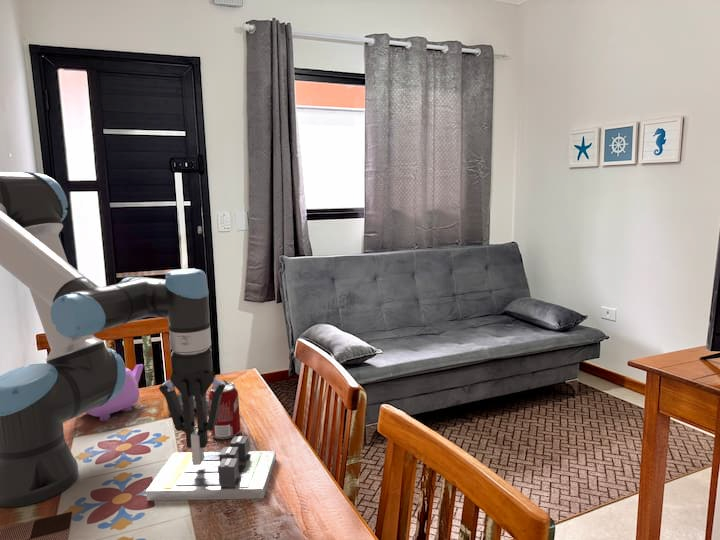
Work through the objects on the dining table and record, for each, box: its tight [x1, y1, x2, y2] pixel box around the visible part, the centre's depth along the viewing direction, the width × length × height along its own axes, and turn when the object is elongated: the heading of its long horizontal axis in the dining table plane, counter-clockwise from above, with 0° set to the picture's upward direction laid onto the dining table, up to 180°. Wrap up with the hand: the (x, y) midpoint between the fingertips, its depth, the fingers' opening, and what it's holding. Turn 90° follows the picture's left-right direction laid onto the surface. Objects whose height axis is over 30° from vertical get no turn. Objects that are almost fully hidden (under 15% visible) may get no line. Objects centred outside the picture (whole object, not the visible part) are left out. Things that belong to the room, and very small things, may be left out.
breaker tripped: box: [219, 446, 239, 465], centre depth 102 cm, size 3×3×4 cm
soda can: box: [208, 381, 241, 440], centre depth 120 cm, size 7×7×12 cm
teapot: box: [84, 363, 144, 421], centre depth 135 cm, size 20×12×13 cm, turn 144°
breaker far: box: [229, 435, 250, 459], centre depth 106 cm, size 3×3×4 cm
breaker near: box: [218, 458, 239, 484], centre depth 97 cm, size 3×3×4 cm
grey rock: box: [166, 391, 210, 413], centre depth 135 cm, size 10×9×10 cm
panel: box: [145, 450, 277, 502], centre depth 102 cm, size 22×14×2 cm, turn 90°
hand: (198, 461), depth 102 cm, fingers closed
